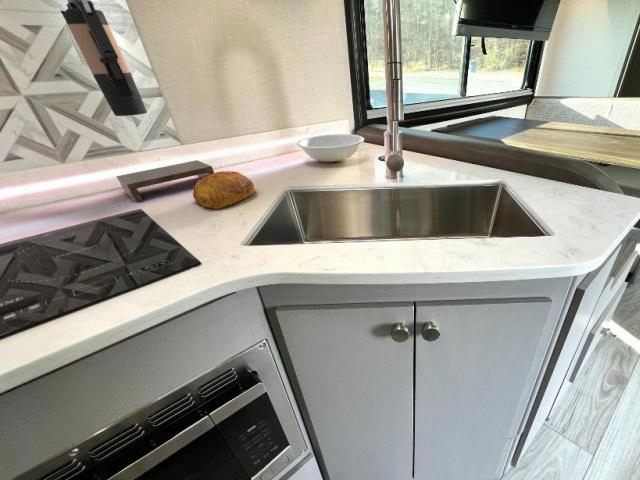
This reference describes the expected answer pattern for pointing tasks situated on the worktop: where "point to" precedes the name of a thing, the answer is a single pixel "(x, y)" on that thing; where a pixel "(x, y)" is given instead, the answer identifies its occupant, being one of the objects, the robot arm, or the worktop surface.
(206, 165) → the shelf
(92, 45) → the travel mug
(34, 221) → the worktop surface
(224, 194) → the croissant
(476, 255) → the worktop surface
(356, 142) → the soup bowl
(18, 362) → the worktop surface
